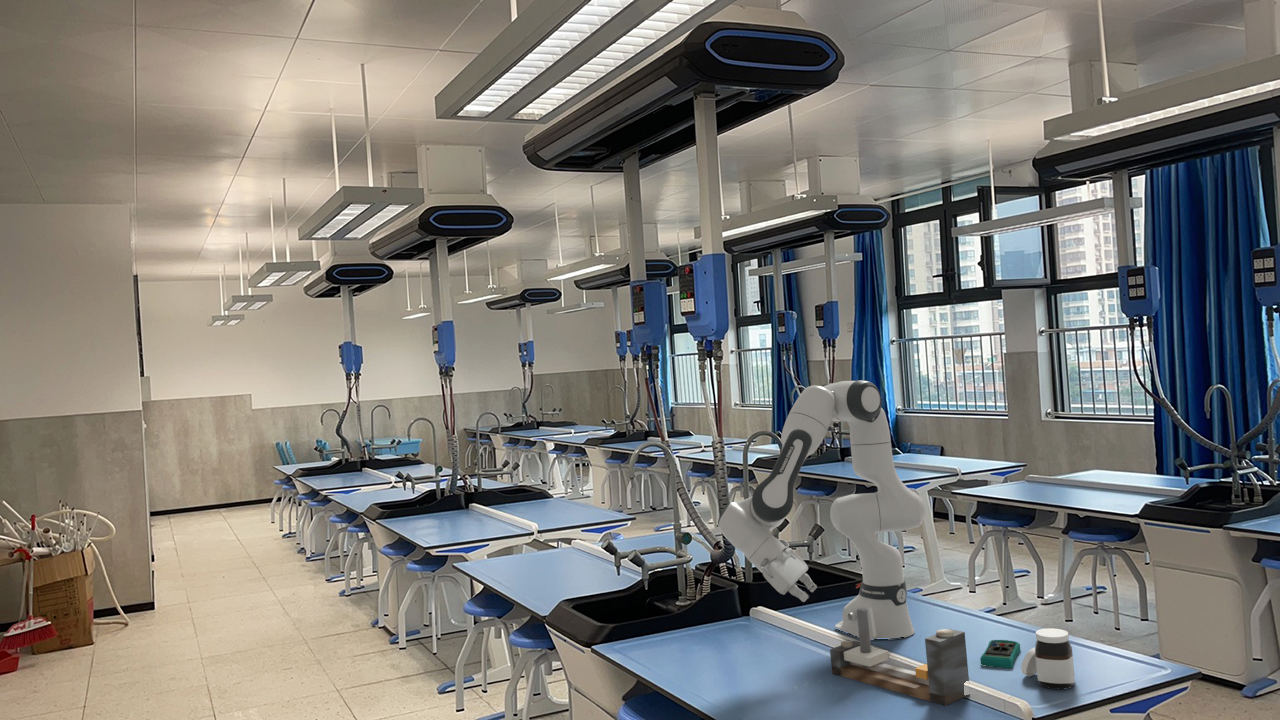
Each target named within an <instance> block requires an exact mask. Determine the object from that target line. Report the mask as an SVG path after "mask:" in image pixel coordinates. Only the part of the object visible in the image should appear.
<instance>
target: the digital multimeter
mask: <svg viewBox="0 0 1280 720" xmlns="http://www.w3.org/2000/svg"><path fill="white" fill-rule="evenodd" d="M1020 652H1021V644H1020V643H1019V642H1018V641H1014V640H1007V639H992V640H990V641H989V642H988V645H987V647H986V649H985V651H984V652H983V653H982V655H981V656H980V657H979V658H980V659H979V660H980V665H981V664H982V665H986V666H985V667H987V666H993V667H992V668H997V667H1002V668H1001V669H1012V668H1013V667H1014V664H1015V661H1016V658H1017V657H1018V655H1019V654H1020Z"/></svg>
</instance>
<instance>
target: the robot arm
mask: <svg viewBox="0 0 1280 720" xmlns="http://www.w3.org/2000/svg"><path fill="white" fill-rule="evenodd" d="M882 402H883V401H882V396H881V393H880V391H879V389H878V387H877V386H876V384H874V382H871V381H868V380H860V379H859V380H841V381H838V382H833V383H824V384H822V385H810V386H807V387H806V388H805V389H803V391H802V392H801V393H800V394H799V396H798V397H797V399H796V400H795V402H794V404H793V406H792V407H791V409H790V410H789V413H788V415H787V417H786V419H785V422H784V425H783V428H782V432H781V437H780V440H781V443H782V446H781V451H780V453H779V455H778V458H777V459H776V462H775V464H774V467H773V468H772V470H771V472H770V474H769V475H768V476H767V477H766V478H764V480H763V481H761V482H760V483H759V484H758V485H757V486H756V487H755V489H754V491H753V493H752V495H751V496H750V497H748V498H745V499H743V500H738V501H731V502H729V503H728V504H727V505H726V506H725V507H724V509H723V510H722V511H721V514H720V515H719V518H718V521H717V528H718V530H719V532H720V533H721V534H722V535H723V536H724V537H725V539H726V540H727V541H728V542H729V543H730V544H731V545H732V546H733V547H734V548H735V549H737V550H738V551H740V552H741V553H742V554H743V555H745V558H746V559H747V561H749V562H750V563H751V564H752V565H754V567H755V568H756V569H758V570H759V571H760V573H762V576H763V578H764V579H765V580H766V581H767V582H768V583H769V584H770V585H771V586H772V588H774V589H775V591H777V592H778V593H779V594H781V595H783V596H785V595H786V593H790V595H792V596H794V597H796V598H797V599H799V600H800V601H801V602H803V603H805V602H806V601H807V600H808V599H809V598H810V595H809V594H808V593H807V592H806V591H803V590H802V589H801V588H799V587H798V584H796V583H797V582H798V581H800V582H801V583H803V584H804V585H805V587H806V589H807V590H809V592H811V593H814V591H815V590H816V589H817V588H818V586H817V584H815V583H814V582H813V580H812V579H811V577H810V575H809V574H808V573H806V572H807V571H808V570H809V566H808V565H807V563H806V562H805V560H803V558H802V557H801V556H800V555H799V554H797V552H795V551H794V550H793V549H792V548H790V547H789V546H790V544H789V543H788V542H787V541H786V540H785V539H779V538H777V537H776V536H775V535H773V534H772V533H771V532H772V531H773V530H774V529H775V528H777V527H779V526H780V525H781V524H782V523H783V522H785V519H786V517H787V516H788V515H789V514H790V512H791V510H792V508H793V505H794V485H795V482H796V480H797V478H798V476H799V473H800V471H801V468H802V466H803V464H804V463H805V461H806V459H807V458H808V457H809V456H811V455H813V454H815V453H816V451H817V450H818V448H819V447H820V445H821V444H822V442H823V440H824V439H825V437H826V434H827V432H828V430H829V427H830V424H831V422H839V423H840V422H841V423H845V422H846V423H847V425H848V427H849V440H850V441H849V442H850V452H851V462H852V470H853V472H854V474H855V475H856V476H858V477H859V478H861V479H863V480H866V481H868V482H869V483H873V485H875V486H876V487H877V491H875V492H868V493H853V494H848V495H844V496H841V497H837V498H835V500H834V501H833V502H832V504H831V506H830V511H829V517H830V521H831V524H832V526H833V528H835V529H836V530H837V531H838V532H839V533H841V534H842V535H844V536H845V537H846V538H847V539H849V541H851V542H852V544H853V546H854V547H855V549H856V551H857V552H858V555H859V556H858V557H859V561H860V566H861V574H862V581H861V582H860V583H856V584H855V586H856V587H855V589H858V588H860V589H859V592H858V595H857V596H855V597H854V598H853V599H852V600H850V602H848V603H847V604H846V605H845V606H844V607H843V610H842V620H841V621H839V622H838V623H836V624H835V626H834V629H835V628H838V629H840V630H842V631H845V632H848V633H850V634H852V635H854V636H853V637H855V636H857V637H856V638H858V639H859V631H858V620H857V609H860V608H865V609H867V610H868V621H869V632H870V641H872V640H871V639H877V638H899V637H904V638H907V637H911V636H912V635H914V634H915V629H914V626H913V623H912V619H911V616H910V612H909V607H908V603H907V594H908V592H907V583H906V580H905V578H904V568H903V557H902V555H901V552H900V551H899V550H898V549H897V548H895V547H894V546H892V545H890V544H887V543H886V542H882V541H880V540H879V539H878V537H877V536H878V535H877V534H879V533H887V532H889V533H891V532H903V531H908V530H912V529H915V528H919V527H921V525H922V523H923V522H924V519H925V517H926V507H925V504H924V501H923V499H922V498H921V496H919V494H917V493H916V492H915V491H913V490H911V489H910V488H909V487H907V486H906V484H904V482H903V481H902V480H901V478H900V477H899V474H898V473H897V470H896V467H895V463H894V456H893V449H892V442H891V441H892V439H891V433H890V431H891V430H890V427H889V423H888V420H887V419H888V418H887V415H886V412H885V410H884V409H883V408H882ZM852 635H851V636H852ZM899 639H900V638H899Z"/></svg>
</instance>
